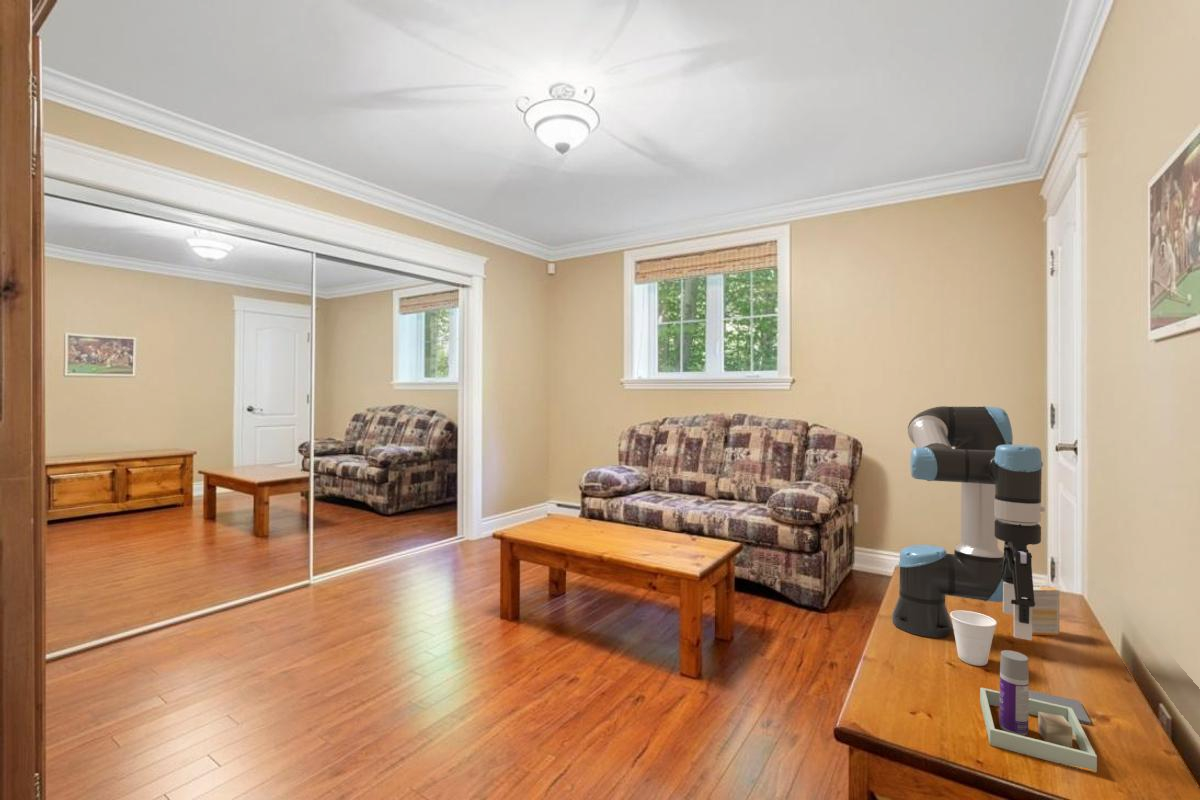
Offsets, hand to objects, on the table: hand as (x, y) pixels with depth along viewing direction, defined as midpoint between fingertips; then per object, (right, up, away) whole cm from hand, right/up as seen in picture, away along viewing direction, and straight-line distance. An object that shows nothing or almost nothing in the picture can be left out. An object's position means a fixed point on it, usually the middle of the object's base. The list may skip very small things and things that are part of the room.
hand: (1016, 625), depth 110 cm
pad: (+15, -21, +7) cm, 27 cm away
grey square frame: (+2, -21, -2) cm, 21 cm away
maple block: (+5, -21, -3) cm, 22 cm away
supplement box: (+41, -21, +45) cm, 65 cm away
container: (-1, -21, 0) cm, 21 cm away
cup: (+11, -21, +28) cm, 37 cm away
